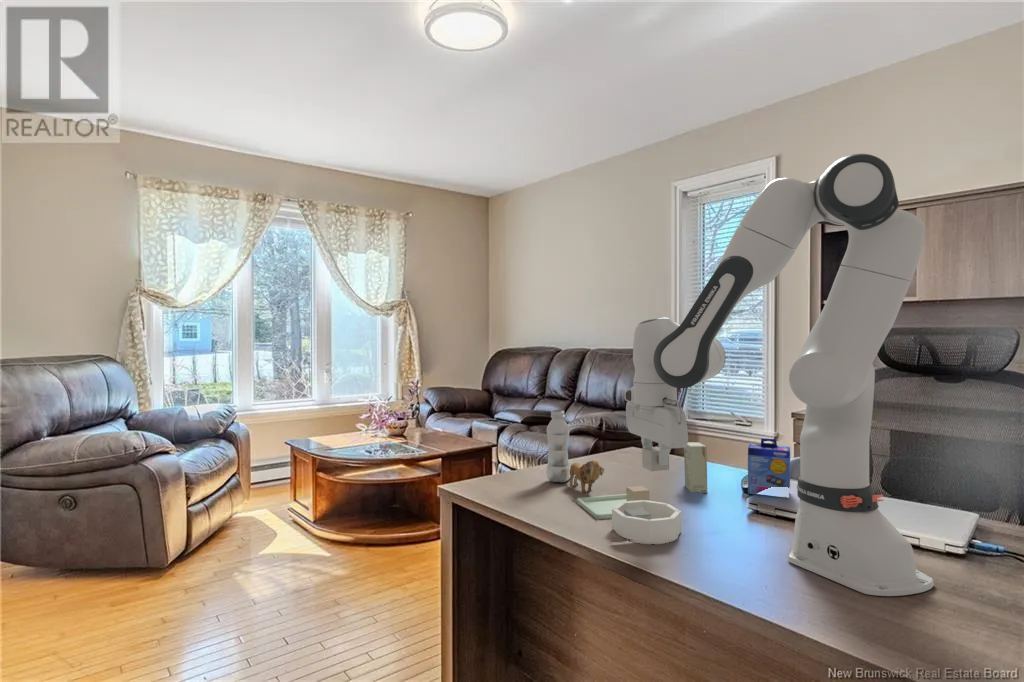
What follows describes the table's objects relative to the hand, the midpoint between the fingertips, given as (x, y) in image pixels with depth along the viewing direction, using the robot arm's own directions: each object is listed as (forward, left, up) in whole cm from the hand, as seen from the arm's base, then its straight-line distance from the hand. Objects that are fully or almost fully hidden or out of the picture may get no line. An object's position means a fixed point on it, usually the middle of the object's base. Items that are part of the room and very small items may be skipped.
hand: (655, 461), depth 118 cm
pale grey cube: (0, 0, -1) cm, 1 cm away
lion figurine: (+33, +4, -15) cm, 36 cm away
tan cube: (+16, -4, -14) cm, 22 cm away
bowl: (0, +2, -15) cm, 15 cm away
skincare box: (+25, -25, -15) cm, 38 cm away
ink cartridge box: (+17, -41, -15) cm, 46 cm away
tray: (+16, +1, -15) cm, 22 cm away
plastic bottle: (+43, +7, -15) cm, 46 cm away
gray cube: (0, +4, -14) cm, 15 cm away
